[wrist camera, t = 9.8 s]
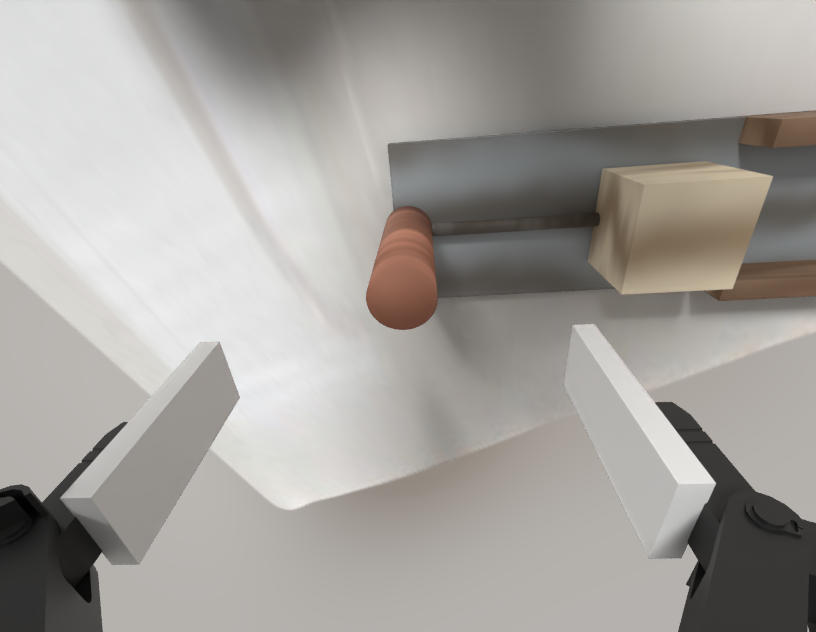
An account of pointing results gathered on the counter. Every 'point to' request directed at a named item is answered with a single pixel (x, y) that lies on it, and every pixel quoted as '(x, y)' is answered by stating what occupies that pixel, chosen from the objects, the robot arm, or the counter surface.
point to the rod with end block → (598, 236)
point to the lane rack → (578, 192)
